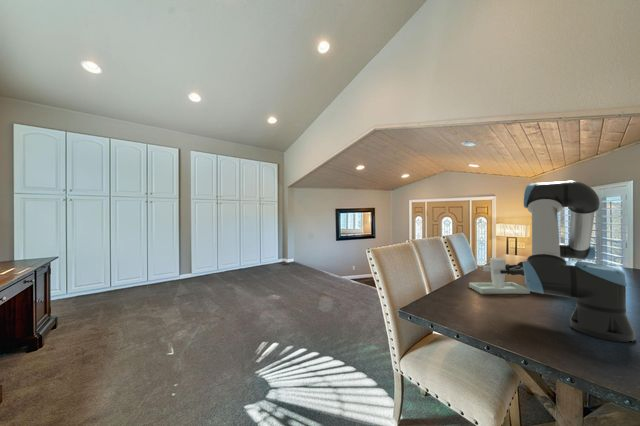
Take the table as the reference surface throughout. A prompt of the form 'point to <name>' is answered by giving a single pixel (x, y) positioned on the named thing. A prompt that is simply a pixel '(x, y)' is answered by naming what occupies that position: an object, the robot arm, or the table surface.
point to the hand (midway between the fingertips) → (488, 270)
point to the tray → (507, 289)
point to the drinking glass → (497, 278)
